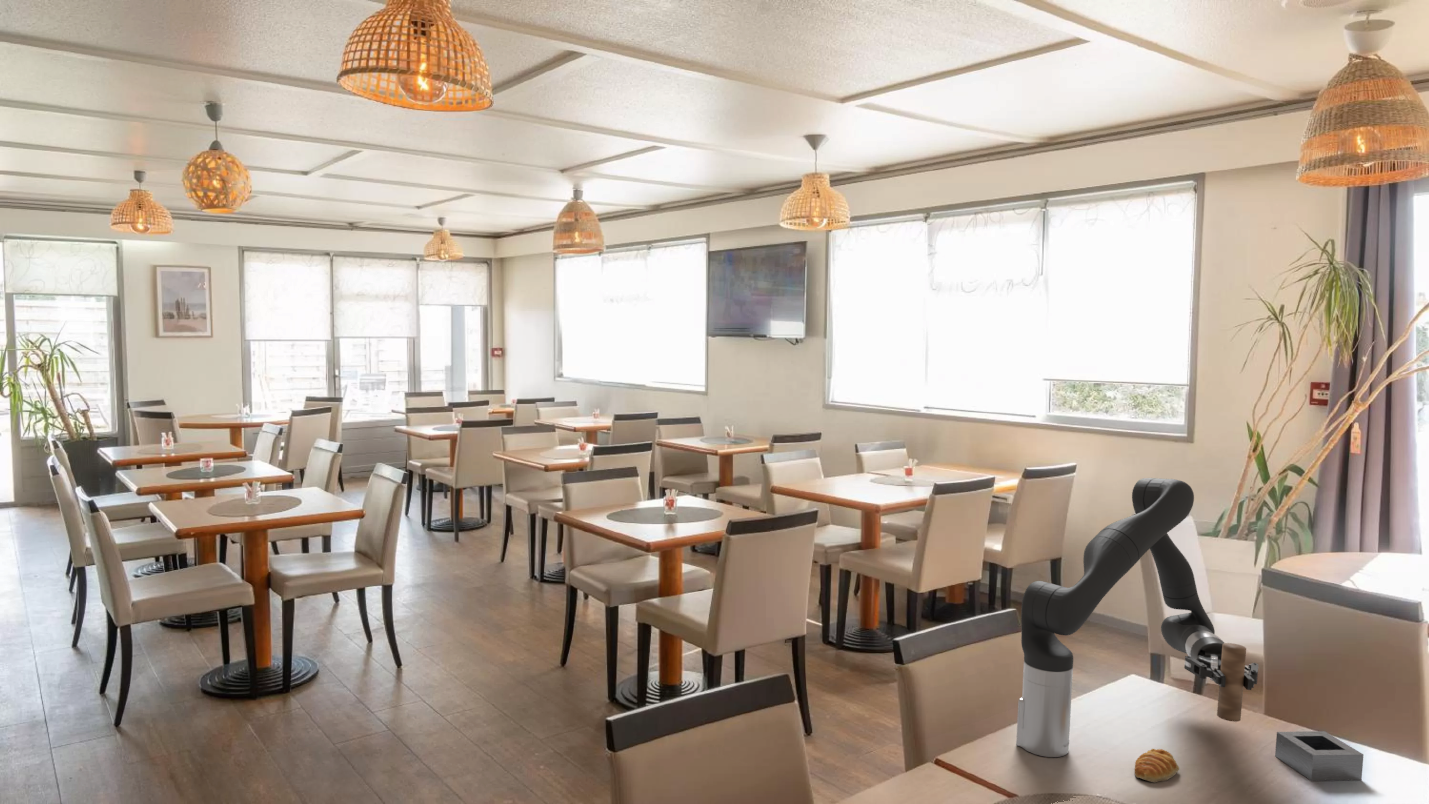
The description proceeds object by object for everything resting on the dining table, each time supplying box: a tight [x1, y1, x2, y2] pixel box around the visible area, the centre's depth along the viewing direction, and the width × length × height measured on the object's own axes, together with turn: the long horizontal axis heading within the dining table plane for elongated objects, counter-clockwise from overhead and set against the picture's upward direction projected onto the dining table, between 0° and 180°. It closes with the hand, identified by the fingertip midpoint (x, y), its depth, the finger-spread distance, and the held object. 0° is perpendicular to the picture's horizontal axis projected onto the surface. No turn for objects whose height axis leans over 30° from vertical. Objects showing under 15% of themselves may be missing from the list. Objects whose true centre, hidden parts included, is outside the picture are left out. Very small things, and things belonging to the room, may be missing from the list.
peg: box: [1216, 642, 1247, 723], centre depth 177 cm, size 4×4×14 cm
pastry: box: [1134, 748, 1180, 783], centre depth 174 cm, size 9×7×4 cm
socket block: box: [1274, 730, 1364, 782], centre depth 178 cm, size 10×10×5 cm
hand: (1236, 683), depth 175 cm, fingers closed on peg, 4 cm apart
